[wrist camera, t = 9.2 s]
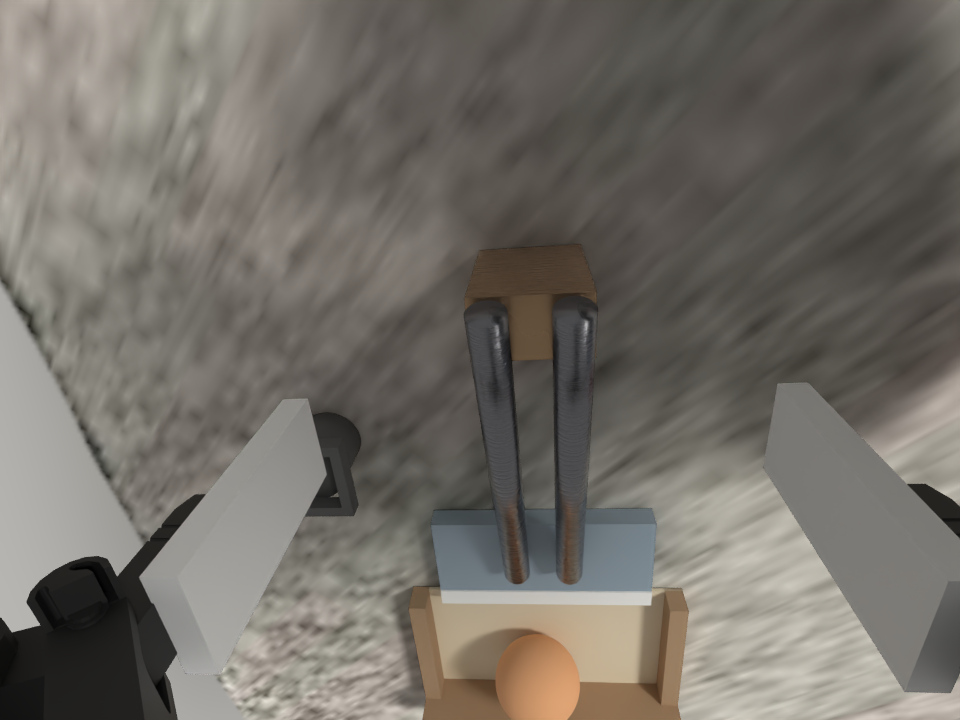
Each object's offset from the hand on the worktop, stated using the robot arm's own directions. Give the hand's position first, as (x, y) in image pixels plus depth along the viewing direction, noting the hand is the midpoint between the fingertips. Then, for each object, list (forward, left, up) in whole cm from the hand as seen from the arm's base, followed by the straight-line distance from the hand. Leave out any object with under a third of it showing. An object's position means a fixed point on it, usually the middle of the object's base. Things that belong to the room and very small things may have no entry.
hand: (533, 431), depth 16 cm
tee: (+7, -11, -10) cm, 17 cm away
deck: (+15, 0, -10) cm, 18 cm away
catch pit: (+23, 0, -10) cm, 25 cm away
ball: (+23, -1, -8) cm, 24 cm away
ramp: (+6, 0, -10) cm, 12 cm away
